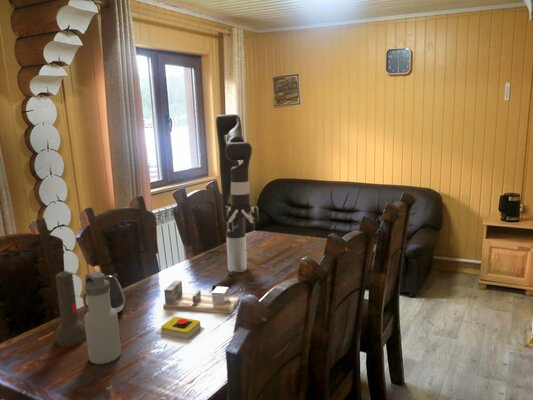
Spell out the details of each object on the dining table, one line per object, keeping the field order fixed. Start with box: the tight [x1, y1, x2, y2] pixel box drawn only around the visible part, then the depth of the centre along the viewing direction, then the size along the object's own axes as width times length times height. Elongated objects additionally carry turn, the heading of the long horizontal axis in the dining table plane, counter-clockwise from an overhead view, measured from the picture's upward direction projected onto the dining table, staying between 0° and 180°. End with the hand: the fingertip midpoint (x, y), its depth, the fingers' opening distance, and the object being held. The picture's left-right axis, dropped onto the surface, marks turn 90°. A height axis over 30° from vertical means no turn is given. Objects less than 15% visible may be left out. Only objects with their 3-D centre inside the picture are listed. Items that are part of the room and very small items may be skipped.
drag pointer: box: [190, 289, 202, 307], centre depth 174 cm, size 10×1×3 cm, turn 167°
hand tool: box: [211, 271, 237, 293], centre depth 194 cm, size 19×4×5 cm, turn 154°
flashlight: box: [54, 270, 86, 347], centre depth 149 cm, size 10×25×10 cm
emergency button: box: [156, 316, 205, 341], centre depth 155 cm, size 9×4×15 cm
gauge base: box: [162, 280, 240, 314], centre depth 175 cm, size 12×28×8 cm, turn 77°
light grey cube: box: [211, 286, 230, 305], centre depth 173 cm, size 6×5×5 cm
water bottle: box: [82, 271, 122, 365], centre depth 137 cm, size 10×10×28 cm
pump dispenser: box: [105, 272, 126, 314], centre depth 170 cm, size 10×10×15 cm
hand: (242, 231), depth 178 cm, fingers open, 8 cm apart
